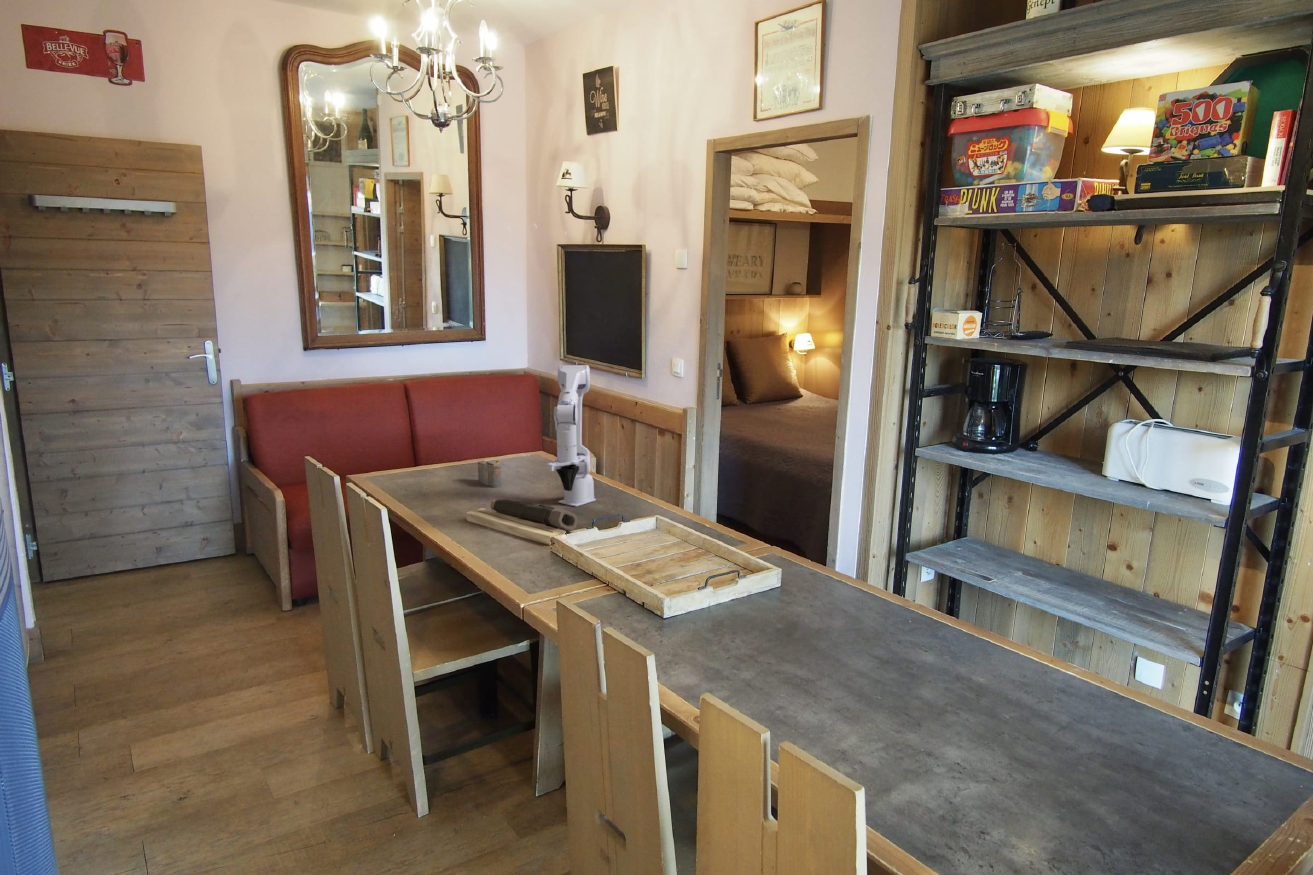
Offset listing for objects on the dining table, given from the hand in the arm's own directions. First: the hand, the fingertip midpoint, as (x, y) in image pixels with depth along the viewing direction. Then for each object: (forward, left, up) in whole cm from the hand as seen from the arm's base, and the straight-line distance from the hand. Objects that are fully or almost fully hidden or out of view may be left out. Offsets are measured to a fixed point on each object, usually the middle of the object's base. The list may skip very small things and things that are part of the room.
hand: (568, 490), depth 240 cm
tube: (+6, -5, -8) cm, 12 cm away
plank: (+16, -6, -9) cm, 20 cm away
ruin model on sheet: (-13, -52, -10) cm, 54 cm away
